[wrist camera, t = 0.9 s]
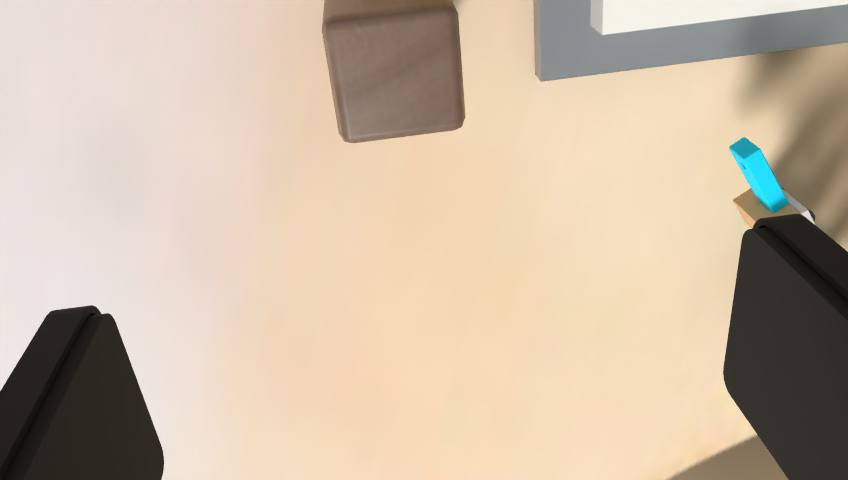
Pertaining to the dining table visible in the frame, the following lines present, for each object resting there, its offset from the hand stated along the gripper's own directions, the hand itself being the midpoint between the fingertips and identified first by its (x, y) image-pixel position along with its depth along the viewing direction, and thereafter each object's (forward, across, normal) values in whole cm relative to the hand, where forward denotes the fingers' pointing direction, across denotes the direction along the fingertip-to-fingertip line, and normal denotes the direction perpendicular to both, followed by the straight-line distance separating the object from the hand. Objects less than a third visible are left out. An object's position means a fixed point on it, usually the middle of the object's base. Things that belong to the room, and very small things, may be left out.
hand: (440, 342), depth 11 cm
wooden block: (+21, 0, 0) cm, 21 cm away
